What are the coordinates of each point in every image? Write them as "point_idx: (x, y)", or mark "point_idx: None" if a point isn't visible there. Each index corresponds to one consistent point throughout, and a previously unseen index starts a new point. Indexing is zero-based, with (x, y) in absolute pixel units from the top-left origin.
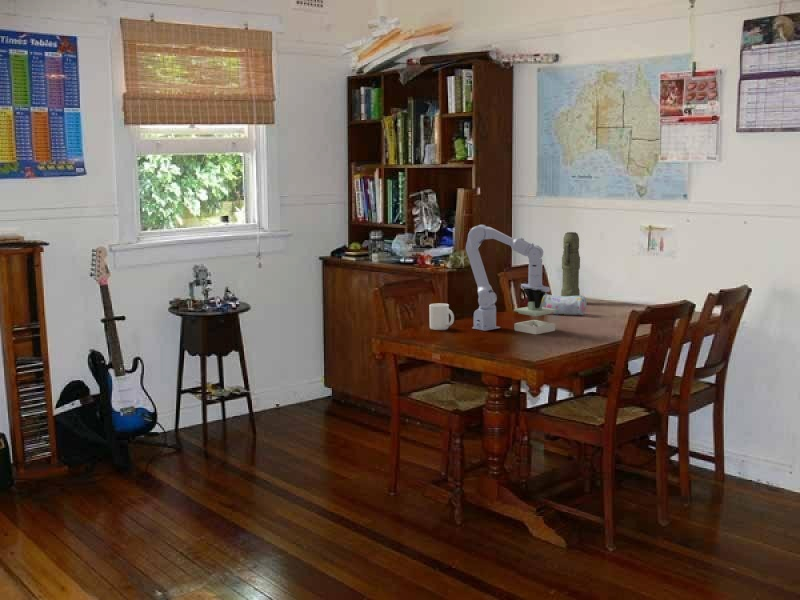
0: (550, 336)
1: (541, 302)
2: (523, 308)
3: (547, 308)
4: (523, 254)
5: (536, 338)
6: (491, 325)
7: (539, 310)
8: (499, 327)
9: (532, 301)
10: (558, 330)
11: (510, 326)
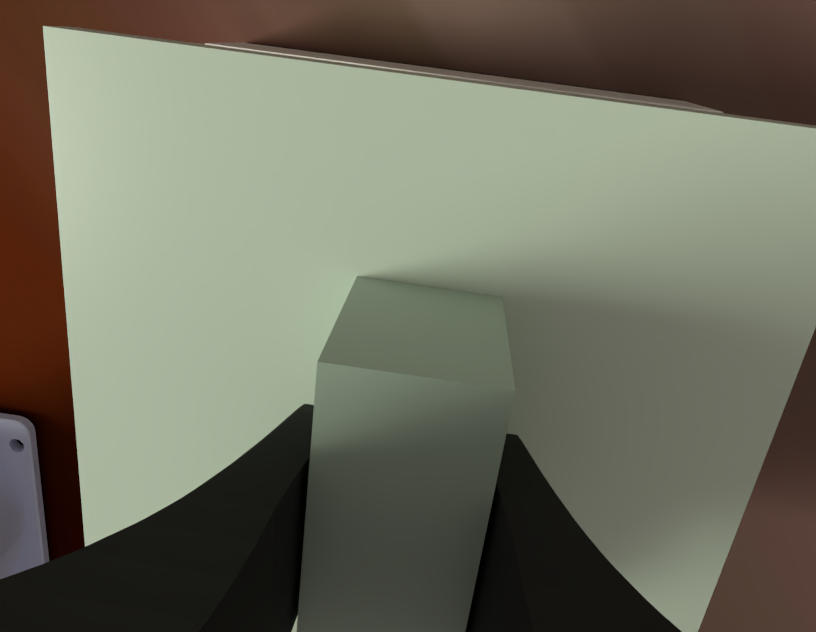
0: (804, 468)
1: (508, 394)
2: (168, 503)
3: (607, 180)
4: None
5: (708, 626)
6: (5, 561)
7: (586, 514)
8: (32, 442)
9: (312, 581)
10: (721, 46)
11: (8, 238)
